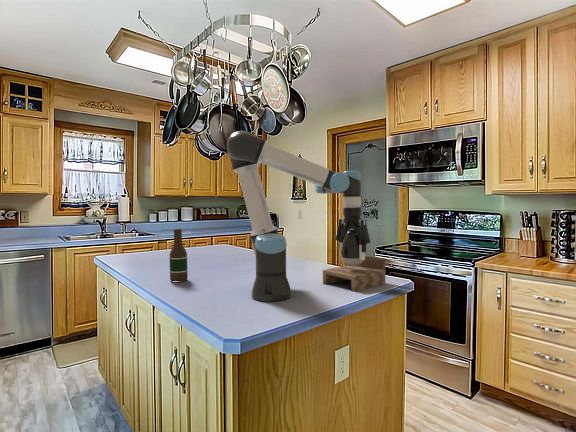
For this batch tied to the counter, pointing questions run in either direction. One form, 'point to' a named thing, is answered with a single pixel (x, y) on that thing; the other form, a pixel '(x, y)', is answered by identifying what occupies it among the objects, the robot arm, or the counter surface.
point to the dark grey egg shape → (350, 249)
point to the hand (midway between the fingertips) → (352, 258)
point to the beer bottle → (178, 259)
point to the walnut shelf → (359, 274)
